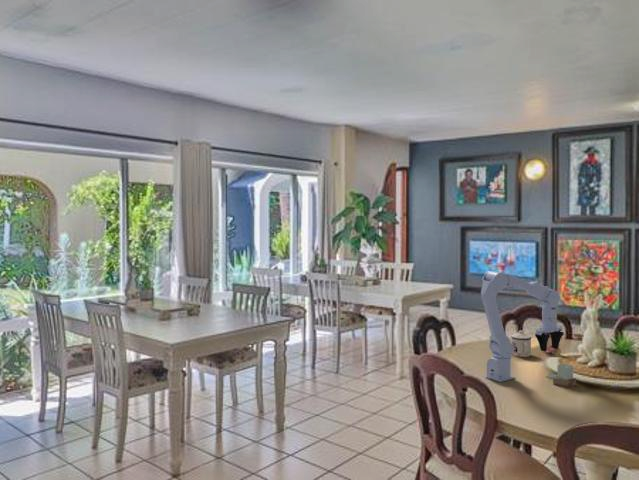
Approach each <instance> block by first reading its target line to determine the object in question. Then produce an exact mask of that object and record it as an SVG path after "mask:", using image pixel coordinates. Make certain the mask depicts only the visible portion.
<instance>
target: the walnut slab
mask: <svg viewBox="0 0 639 480" xmlns="http://www.w3.org/2000/svg"><path fill="white" fill-rule="evenodd" d="M552 384H553V385H554V386H558V387H562V388H567V389H569V388H571V387H574V386H576V385H577V379H576V378H575V377H573V379H570V380H564V379H560V378H557V377H554V378H553V379H552Z"/></svg>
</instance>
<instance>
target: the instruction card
mask: <svg viewBox="0 0 639 480" xmlns="http://www.w3.org/2000/svg"><path fill="white" fill-rule="evenodd" d="M554 377H557V373H556V374H555V373H551V374H549V375H546V376H545V378H548V379H551V380H553V378H554Z"/></svg>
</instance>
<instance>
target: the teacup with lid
mask: <svg viewBox="0 0 639 480" xmlns="http://www.w3.org/2000/svg"><path fill="white" fill-rule="evenodd" d="M510 338H511V344H512V345H513V347H514V353H513V355H512V356H515V357H516V358H517V357H520V358H528V357H529V358H530V357H531V356H532V336H531V335H530V334H528V333H525V332H524V330H518V332H516V333H513V334H512V335H511V336H510Z"/></svg>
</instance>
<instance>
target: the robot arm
mask: <svg viewBox="0 0 639 480" xmlns="http://www.w3.org/2000/svg"><path fill="white" fill-rule="evenodd" d="M481 279H482V280H481V281H482V285H481V290H480V297H481V301H482V304H483V308H484V312H485V316H486V320H487V323H488V327H489V331H490V336H489V347H488V348H489V349H490V351H491V354H492V356H491V358H489V359H487V362H486V375H484V377H485V378H487V379H489V380H492V381H496V382H499V383H501V382H505V381H509V380H513V379H516V376H513V375H512V373H511V371H512V368H511V367H512V364H511V362H512V360H511V359H512V356H514V355H513V353H514V347H513V345H512V342H511V341H510V338H509V336H508V335H507V333H506V332H505V328H504V325H503V320H502V317H501V314H500V309H499V306H498V305H499V304H498V301H497V298H496V296H497V295H498V294H499V293H500V292H501V291H502V290H503V289H505V288H506V287H507V286H514V287H517V288H520V289H523V290H525V292H526V294H527V295H528V296H531V297H534V298H536V299H539V300H540V301H541V307H542V308H541V327H539V328H538V329H536V331H535V334H534V336H535V338H536V339H537V342H538V344H539V348H540V351H541V352H542V351H544V353H547V352H546V350H547V342H548V339H549V337H550V336H551V340H552V348H554V349H558V346H559V347H560V342H561V340H562V337H563V336H564V332H563V326H562V325H558V305H559V301H560V300H561V296H560V293H559V292H558V290H555V289H552V288H550V287H549V286H547V285H545V286H544V285H542V284H540V282H539V281H530V282H528V281H525V280H524V279H521V278H519V277H516V276H515V275H513V274H509V273H505V272H499V271H495V270H488V271H486V272H485V274H484V275H483V277H482V278H481ZM547 334H549V335H547Z"/></svg>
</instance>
